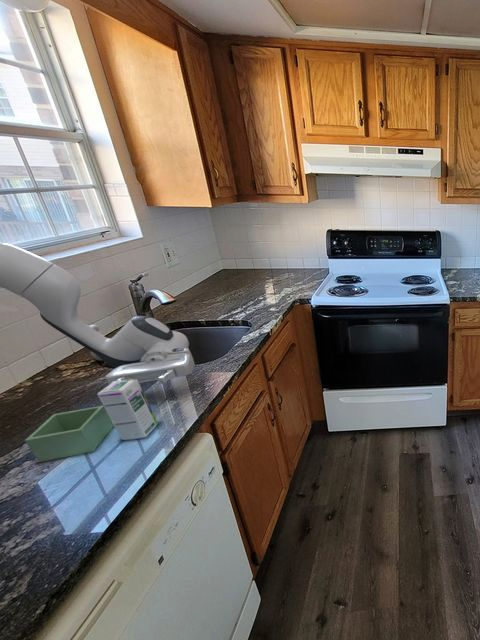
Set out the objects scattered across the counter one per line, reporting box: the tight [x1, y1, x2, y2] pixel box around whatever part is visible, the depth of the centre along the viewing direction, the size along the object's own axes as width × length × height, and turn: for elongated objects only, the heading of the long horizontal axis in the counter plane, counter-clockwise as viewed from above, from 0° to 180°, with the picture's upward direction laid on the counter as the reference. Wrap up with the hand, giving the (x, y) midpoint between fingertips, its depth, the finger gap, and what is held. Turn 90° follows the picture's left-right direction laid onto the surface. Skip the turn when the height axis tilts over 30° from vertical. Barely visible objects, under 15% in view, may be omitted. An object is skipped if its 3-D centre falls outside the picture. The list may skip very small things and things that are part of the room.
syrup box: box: [97, 379, 159, 441], centre depth 92 cm, size 6×6×14 cm
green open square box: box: [24, 405, 115, 463], centre depth 91 cm, size 11×11×7 cm
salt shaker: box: [87, 324, 103, 361], centre depth 133 cm, size 6×6×13 cm
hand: (141, 384), depth 99 cm, fingers open, 8 cm apart
